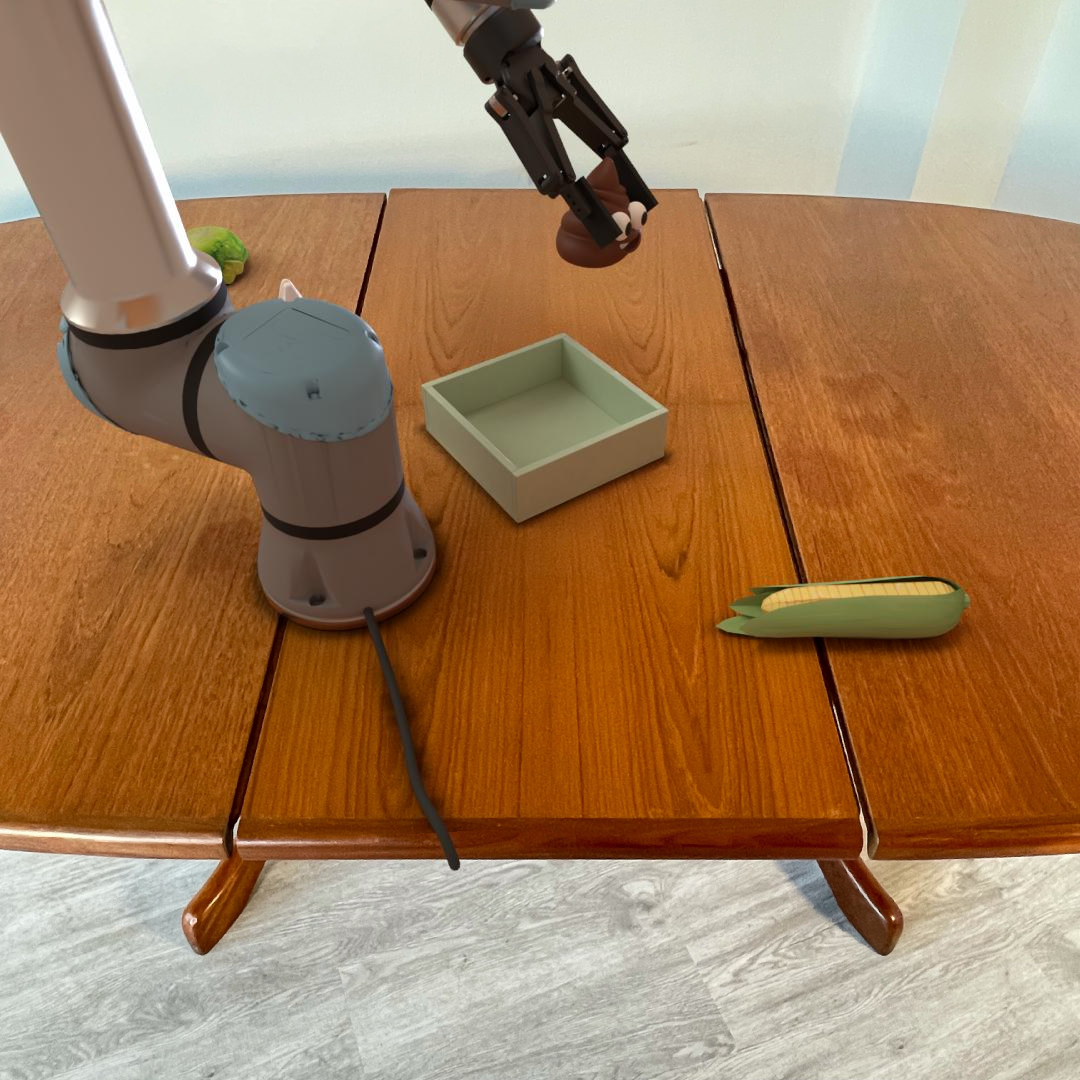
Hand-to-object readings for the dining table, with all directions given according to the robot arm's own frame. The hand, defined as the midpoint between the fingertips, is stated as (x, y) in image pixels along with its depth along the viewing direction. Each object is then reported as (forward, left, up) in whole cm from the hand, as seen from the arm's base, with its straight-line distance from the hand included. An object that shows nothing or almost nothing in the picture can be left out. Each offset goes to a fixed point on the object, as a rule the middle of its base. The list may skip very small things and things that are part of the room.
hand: (630, 225), depth 89 cm
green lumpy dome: (+51, +31, -17) cm, 62 cm away
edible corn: (-40, +9, -17) cm, 45 cm away
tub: (-6, +15, -17) cm, 24 cm away
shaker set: (+19, +31, -17) cm, 40 cm away
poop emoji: (+3, +1, -4) cm, 5 cm away
